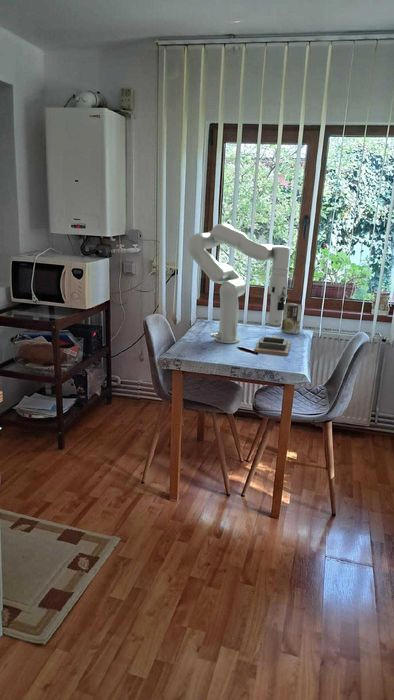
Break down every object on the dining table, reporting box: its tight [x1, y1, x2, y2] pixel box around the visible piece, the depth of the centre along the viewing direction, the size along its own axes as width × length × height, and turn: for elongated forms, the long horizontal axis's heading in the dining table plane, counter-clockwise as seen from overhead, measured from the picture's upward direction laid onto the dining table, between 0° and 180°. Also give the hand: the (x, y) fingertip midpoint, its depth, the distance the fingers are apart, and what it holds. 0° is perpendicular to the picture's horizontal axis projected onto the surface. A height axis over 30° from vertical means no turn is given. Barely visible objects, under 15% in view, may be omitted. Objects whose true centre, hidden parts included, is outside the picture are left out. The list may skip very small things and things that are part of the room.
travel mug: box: [268, 287, 283, 328], centre depth 239 cm, size 6×7×20 cm
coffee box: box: [281, 302, 303, 335], centre depth 278 cm, size 9×6×16 cm
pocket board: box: [253, 335, 291, 357], centre depth 244 cm, size 22×16×4 cm
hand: (276, 308), depth 239 cm, fingers closed on travel mug, 6 cm apart
